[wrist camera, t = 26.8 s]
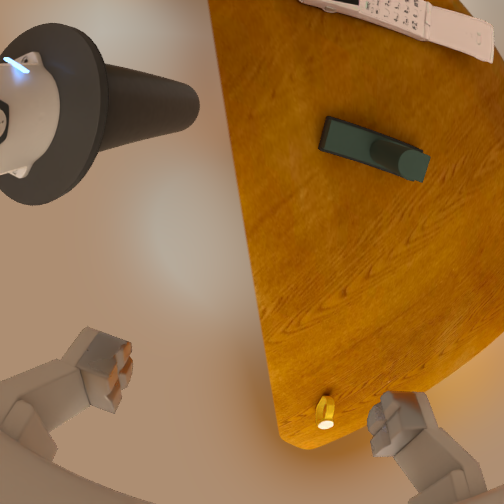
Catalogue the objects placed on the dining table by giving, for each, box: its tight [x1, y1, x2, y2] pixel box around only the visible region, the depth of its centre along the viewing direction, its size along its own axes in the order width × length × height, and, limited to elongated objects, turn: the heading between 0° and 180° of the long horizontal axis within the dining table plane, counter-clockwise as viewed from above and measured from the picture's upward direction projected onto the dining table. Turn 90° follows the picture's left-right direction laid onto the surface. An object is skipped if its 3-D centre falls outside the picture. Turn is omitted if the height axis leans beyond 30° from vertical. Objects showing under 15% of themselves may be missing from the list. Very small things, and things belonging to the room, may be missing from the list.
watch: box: [315, 396, 334, 429], centre depth 48 cm, size 6×3×6 cm, turn 168°
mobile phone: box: [299, 0, 494, 63], centre depth 22 cm, size 6×6×25 cm
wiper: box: [318, 116, 430, 182], centre depth 27 cm, size 12×4×12 cm, turn 77°
